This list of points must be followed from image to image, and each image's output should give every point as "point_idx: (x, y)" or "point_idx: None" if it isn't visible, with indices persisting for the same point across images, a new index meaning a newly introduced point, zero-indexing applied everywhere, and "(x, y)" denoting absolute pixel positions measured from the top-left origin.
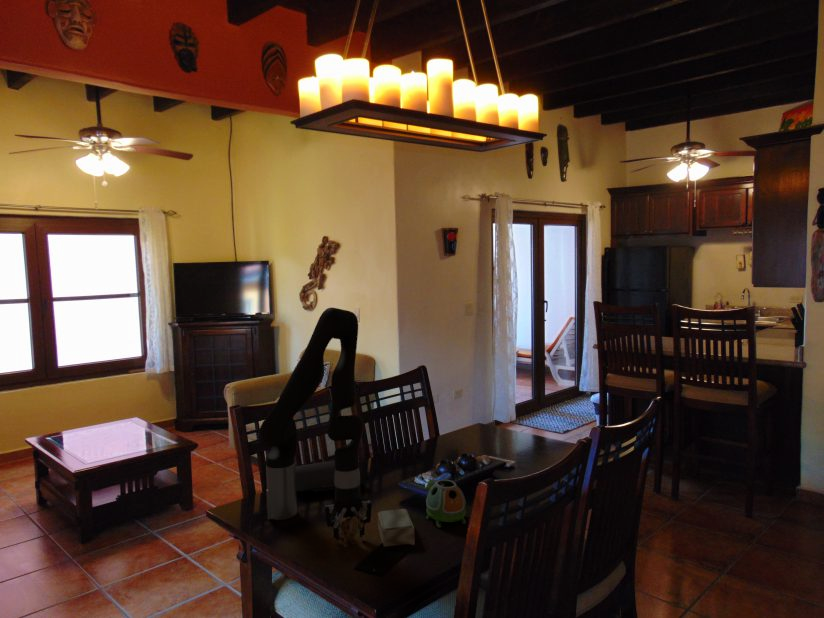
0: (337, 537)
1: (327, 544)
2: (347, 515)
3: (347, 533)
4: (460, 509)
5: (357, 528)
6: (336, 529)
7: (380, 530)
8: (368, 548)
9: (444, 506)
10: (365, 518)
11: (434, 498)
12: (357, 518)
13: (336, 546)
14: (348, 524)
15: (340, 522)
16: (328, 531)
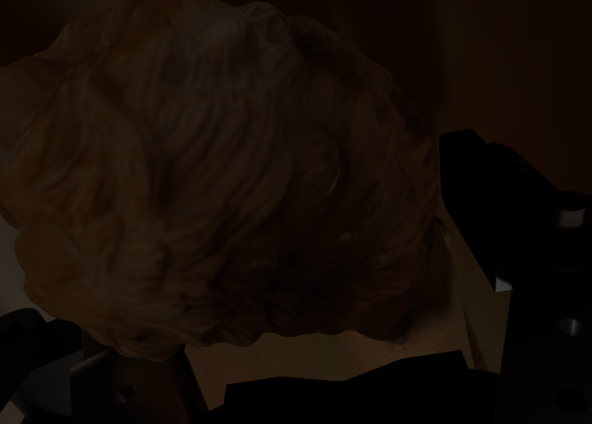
0: (464, 138)
1: (544, 116)
2: (375, 407)
3: (332, 30)
4: None
5: (80, 26)
6: (522, 188)
7: (9, 283)
8: (77, 13)
9: None
10: (62, 379)
11: None
12: (40, 268)
13: (451, 70)
14: (315, 78)
15: (464, 326)
16: (506, 326)
